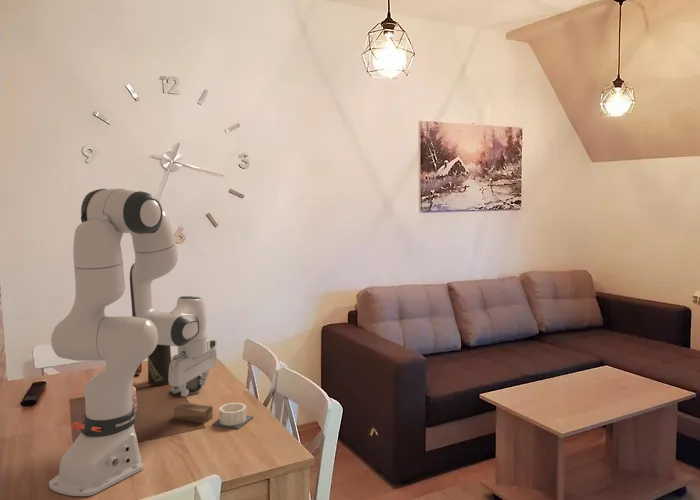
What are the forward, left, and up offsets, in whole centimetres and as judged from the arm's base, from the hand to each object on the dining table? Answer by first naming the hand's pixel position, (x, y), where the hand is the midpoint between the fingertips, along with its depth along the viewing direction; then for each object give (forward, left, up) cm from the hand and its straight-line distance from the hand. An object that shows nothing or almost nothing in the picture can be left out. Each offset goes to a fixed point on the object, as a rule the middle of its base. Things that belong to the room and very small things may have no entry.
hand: (194, 389), depth 172 cm
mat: (+1, -13, -9) cm, 16 cm away
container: (+23, +32, -9) cm, 41 cm away
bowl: (+1, -13, -9) cm, 16 cm away
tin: (+29, +50, -9) cm, 59 cm away
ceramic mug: (+19, +17, -9) cm, 27 cm away
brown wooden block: (-1, 0, -9) cm, 9 cm away
